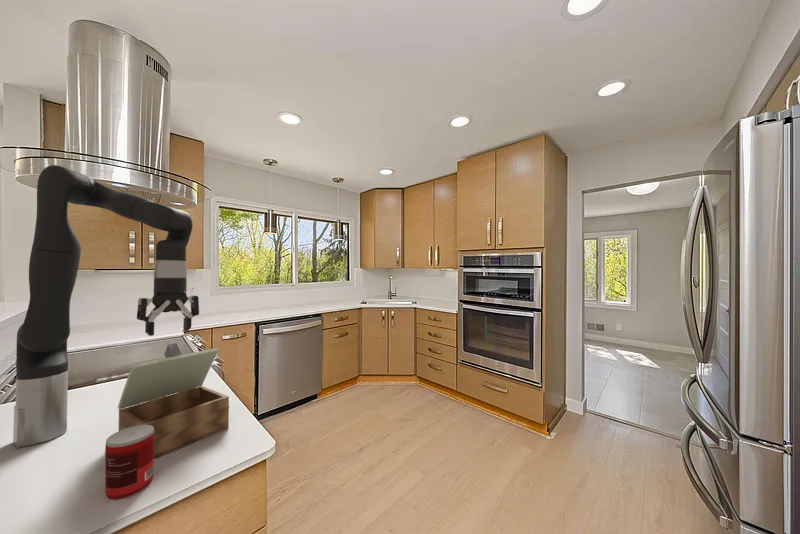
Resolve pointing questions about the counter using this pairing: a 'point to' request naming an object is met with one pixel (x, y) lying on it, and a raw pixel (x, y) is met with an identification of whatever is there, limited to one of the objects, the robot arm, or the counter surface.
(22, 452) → the counter surface
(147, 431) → the canned food
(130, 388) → the lid
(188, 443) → the storage box
